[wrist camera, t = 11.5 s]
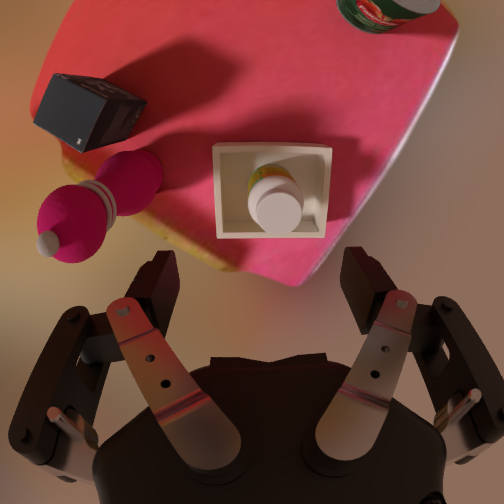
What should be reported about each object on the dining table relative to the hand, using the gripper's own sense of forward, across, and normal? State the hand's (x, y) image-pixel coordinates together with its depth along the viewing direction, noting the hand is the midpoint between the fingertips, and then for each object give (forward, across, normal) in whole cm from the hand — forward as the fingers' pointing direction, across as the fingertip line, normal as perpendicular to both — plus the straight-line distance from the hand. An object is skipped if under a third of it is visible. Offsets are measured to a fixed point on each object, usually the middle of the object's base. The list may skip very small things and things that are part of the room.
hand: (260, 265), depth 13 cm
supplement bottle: (+21, -2, +2) cm, 21 cm away
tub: (+21, -2, +2) cm, 22 cm away
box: (+22, +17, -9) cm, 29 cm away
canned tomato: (+22, -14, -22) cm, 34 cm away
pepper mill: (+22, +14, 0) cm, 26 cm away
